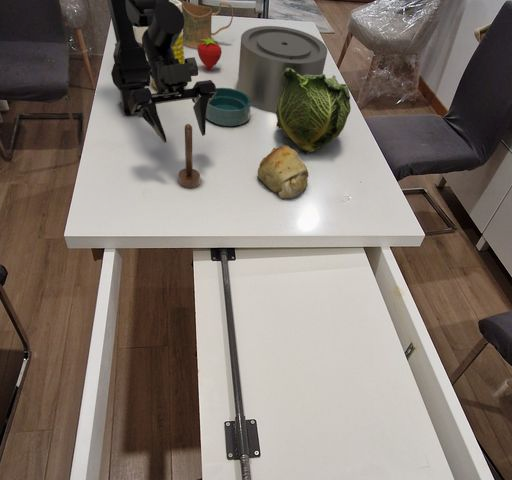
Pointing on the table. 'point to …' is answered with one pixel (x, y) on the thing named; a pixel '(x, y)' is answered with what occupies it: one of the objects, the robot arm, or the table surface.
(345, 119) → the vegetable
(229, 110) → the bowl
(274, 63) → the container
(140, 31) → the jar
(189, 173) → the rounded top peg stand
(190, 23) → the mug
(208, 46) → the strawberry
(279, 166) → the pastry
